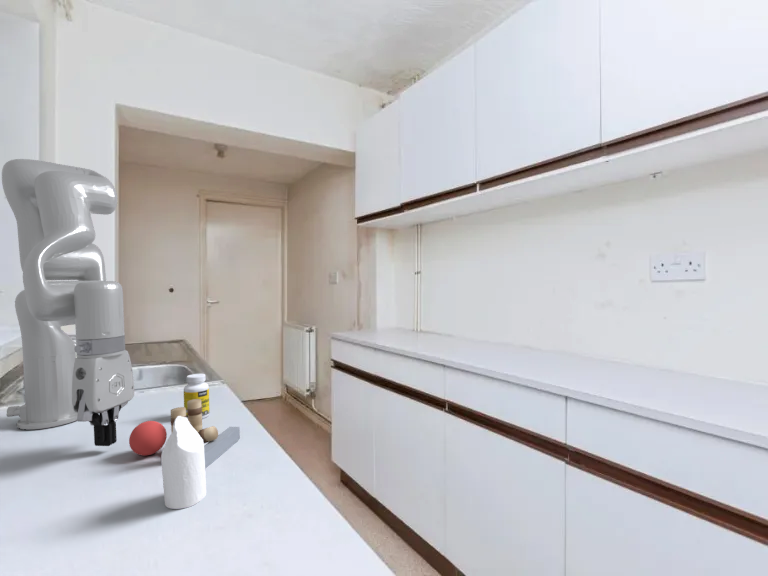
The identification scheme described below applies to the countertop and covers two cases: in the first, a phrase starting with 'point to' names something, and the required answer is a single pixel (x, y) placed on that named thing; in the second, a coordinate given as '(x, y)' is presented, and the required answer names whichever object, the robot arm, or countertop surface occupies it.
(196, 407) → the pin
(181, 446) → the white pointed column
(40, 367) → the robot arm
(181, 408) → the pin
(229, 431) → the stopper wall
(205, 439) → the pin front
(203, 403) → the supplement bottle
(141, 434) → the ball
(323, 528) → the countertop surface
